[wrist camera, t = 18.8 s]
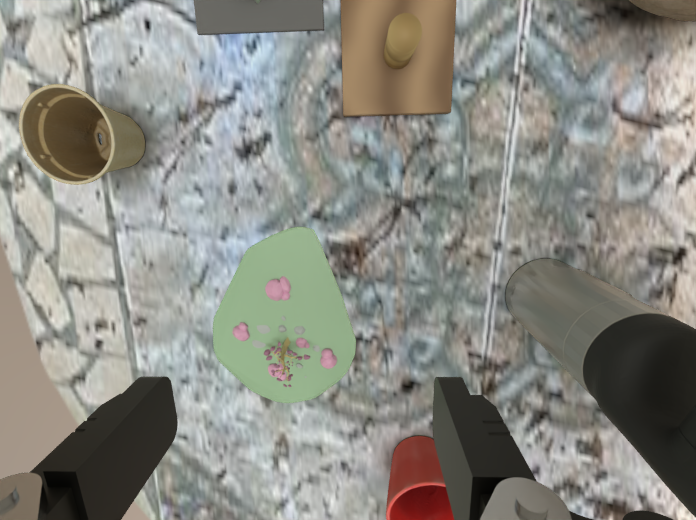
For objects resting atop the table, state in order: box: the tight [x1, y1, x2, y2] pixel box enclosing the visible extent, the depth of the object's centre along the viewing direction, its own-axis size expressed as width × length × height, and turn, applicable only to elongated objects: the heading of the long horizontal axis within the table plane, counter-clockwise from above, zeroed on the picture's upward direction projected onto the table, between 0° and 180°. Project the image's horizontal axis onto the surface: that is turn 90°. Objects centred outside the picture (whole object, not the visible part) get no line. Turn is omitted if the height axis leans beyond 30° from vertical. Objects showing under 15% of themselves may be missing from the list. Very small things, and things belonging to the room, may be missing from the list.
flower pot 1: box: [19, 84, 145, 185], centre depth 40 cm, size 9×9×9 cm
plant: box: [213, 227, 356, 403], centre depth 46 cm, size 25×21×9 cm
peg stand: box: [341, 0, 456, 117], centre depth 37 cm, size 12×12×8 cm
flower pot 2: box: [386, 436, 454, 520], centre depth 50 cm, size 11×11×10 cm
